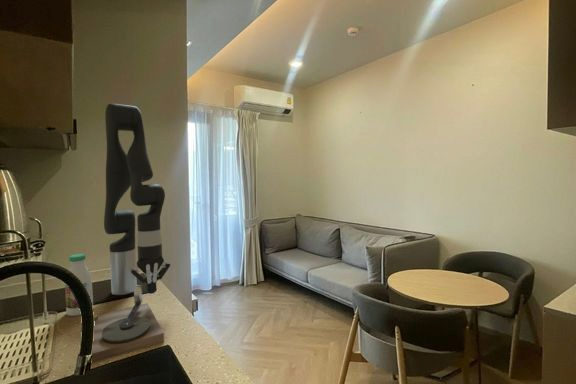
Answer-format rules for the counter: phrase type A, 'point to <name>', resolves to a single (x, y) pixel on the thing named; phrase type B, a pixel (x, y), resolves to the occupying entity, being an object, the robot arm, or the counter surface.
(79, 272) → the milk bottle
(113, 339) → the gray disc with handle
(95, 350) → the stand
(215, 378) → the counter surface
